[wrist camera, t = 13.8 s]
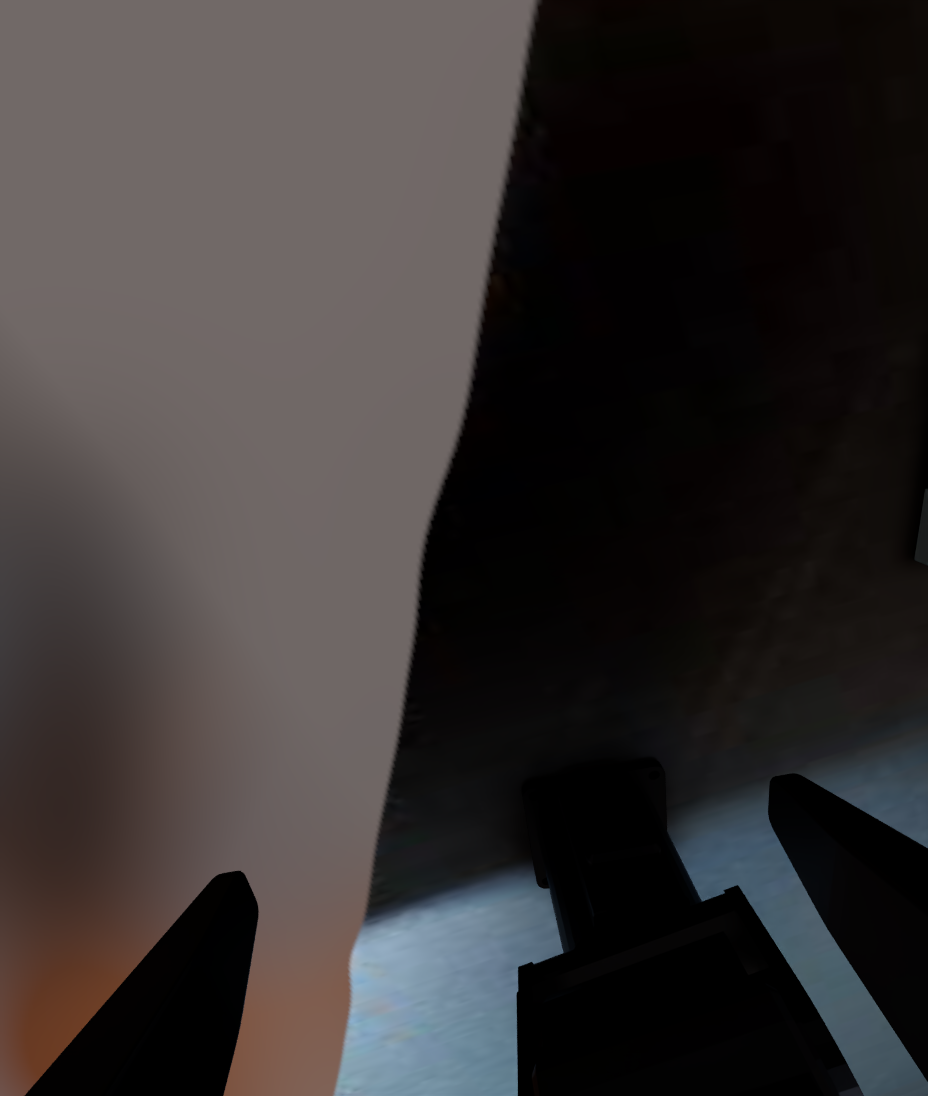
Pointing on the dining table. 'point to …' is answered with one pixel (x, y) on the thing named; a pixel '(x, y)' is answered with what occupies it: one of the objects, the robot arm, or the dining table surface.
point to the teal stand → (923, 534)
